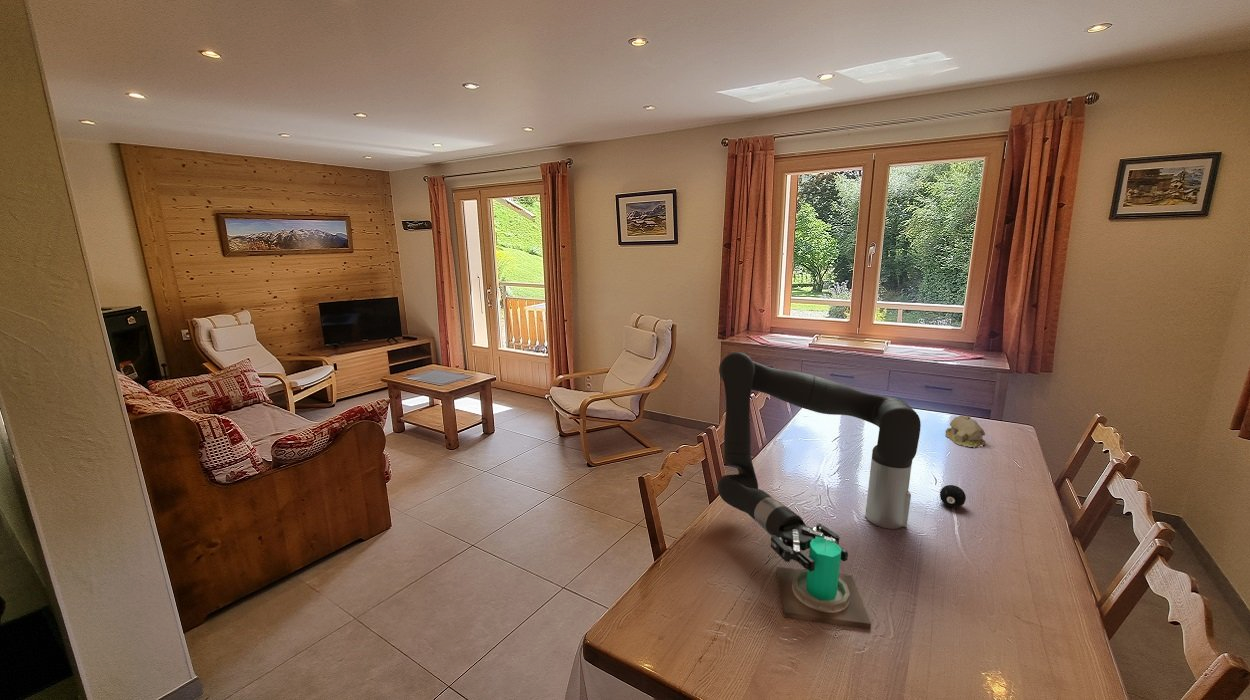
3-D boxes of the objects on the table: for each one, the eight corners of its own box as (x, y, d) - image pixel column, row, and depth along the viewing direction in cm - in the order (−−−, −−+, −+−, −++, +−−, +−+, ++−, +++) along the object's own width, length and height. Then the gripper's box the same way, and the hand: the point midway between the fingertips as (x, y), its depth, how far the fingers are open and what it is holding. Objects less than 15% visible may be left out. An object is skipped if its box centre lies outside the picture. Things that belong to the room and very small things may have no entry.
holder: (851, 580, 106) (852, 568, 105) (870, 628, 92) (872, 615, 92) (776, 571, 109) (777, 559, 108) (784, 617, 95) (785, 604, 95)
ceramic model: (993, 447, 174) (997, 422, 172) (964, 449, 173) (968, 423, 170) (962, 433, 187) (966, 408, 185) (936, 434, 186) (939, 410, 184)
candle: (801, 581, 103) (805, 532, 100) (827, 579, 103) (832, 530, 101) (814, 602, 97) (819, 550, 94) (842, 599, 98) (848, 547, 95)
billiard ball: (936, 506, 135) (939, 486, 134) (941, 498, 139) (943, 479, 138) (962, 514, 131) (965, 494, 130) (965, 505, 135) (968, 486, 134)
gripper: (753, 512, 108) (803, 554, 93) (803, 499, 113) (858, 538, 98) (751, 541, 110) (800, 587, 95) (801, 528, 115) (855, 569, 100)
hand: (830, 562), depth 97 cm, fingers open, 8 cm apart
